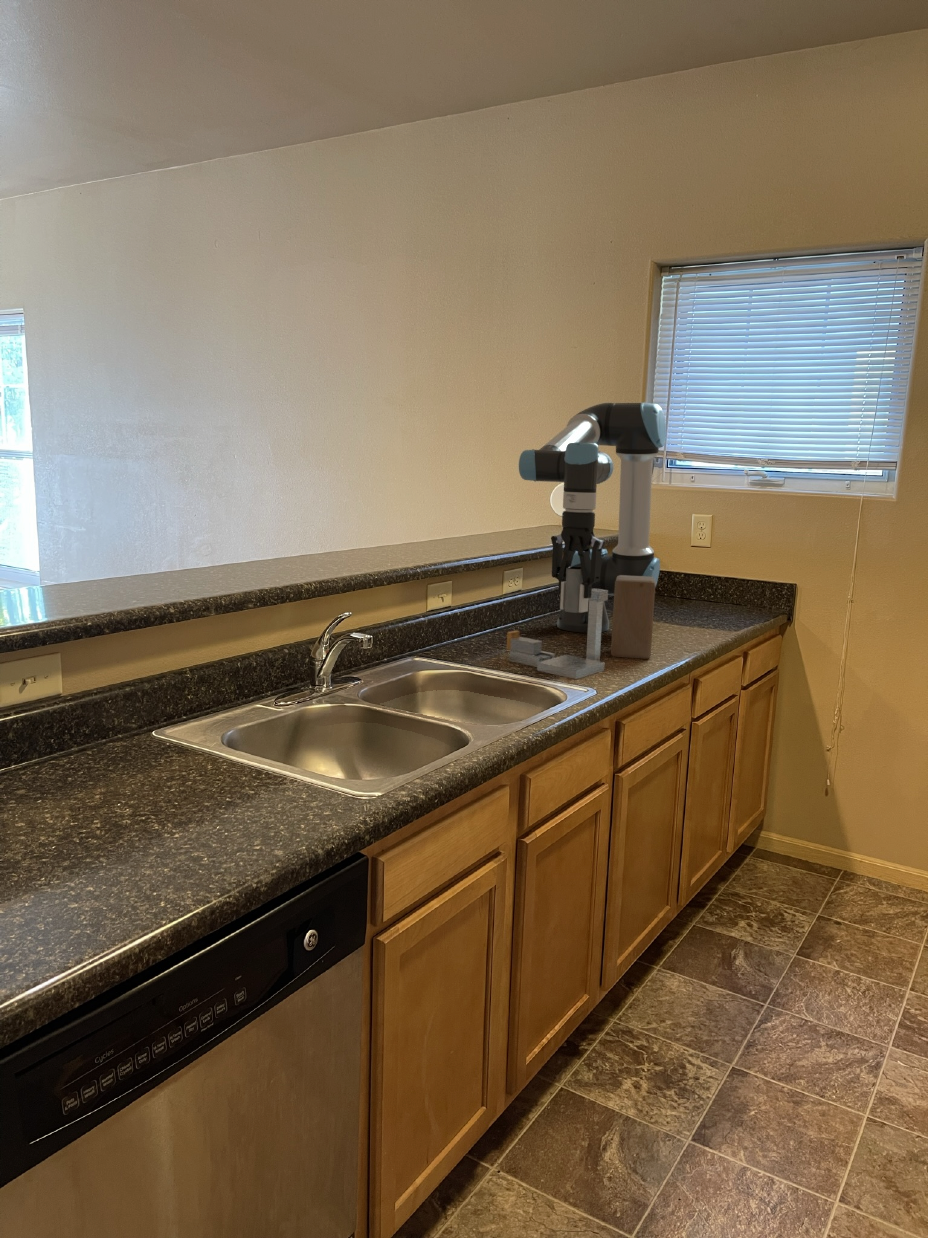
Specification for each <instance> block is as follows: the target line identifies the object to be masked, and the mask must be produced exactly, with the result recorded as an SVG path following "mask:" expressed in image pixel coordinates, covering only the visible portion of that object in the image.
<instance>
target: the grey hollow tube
mask: <svg viewBox="0 0 928 1238" xmlns="http://www.w3.org/2000/svg"><path fill="white" fill-rule="evenodd" d="M582 583H583V578H582V571H581V567H567V568H566V588H565V611H566V612H572V613H580V612H579V596H580V584H582Z"/></svg>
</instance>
